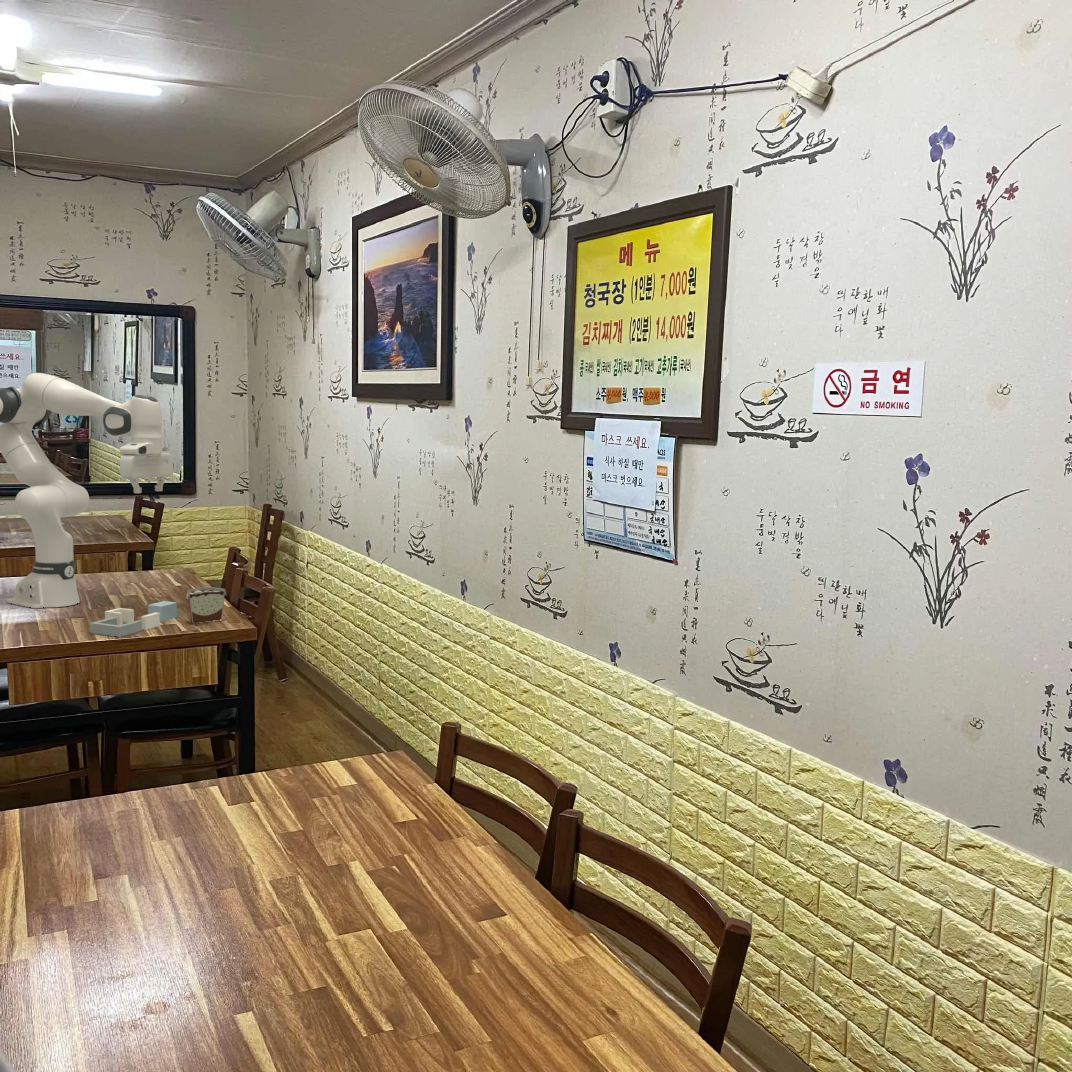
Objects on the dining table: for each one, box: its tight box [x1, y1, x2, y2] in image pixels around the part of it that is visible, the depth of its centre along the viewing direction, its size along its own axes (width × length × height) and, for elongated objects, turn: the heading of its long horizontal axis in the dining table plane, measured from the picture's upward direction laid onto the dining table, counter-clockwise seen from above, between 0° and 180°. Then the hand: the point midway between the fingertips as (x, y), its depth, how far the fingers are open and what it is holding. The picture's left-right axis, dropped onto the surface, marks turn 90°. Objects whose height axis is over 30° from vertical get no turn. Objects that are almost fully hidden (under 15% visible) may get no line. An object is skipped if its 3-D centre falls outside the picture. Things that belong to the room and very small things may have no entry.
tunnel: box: [104, 607, 161, 631], centre depth 292 cm, size 15×6×4 cm, turn 71°
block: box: [147, 600, 178, 623], centre depth 302 cm, size 5×7×5 cm
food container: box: [185, 586, 227, 623], centre depth 302 cm, size 12×6×10 cm, turn 131°
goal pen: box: [89, 617, 143, 638], centre depth 283 cm, size 10×9×3 cm
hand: (148, 492), depth 304 cm, fingers open, 8 cm apart
